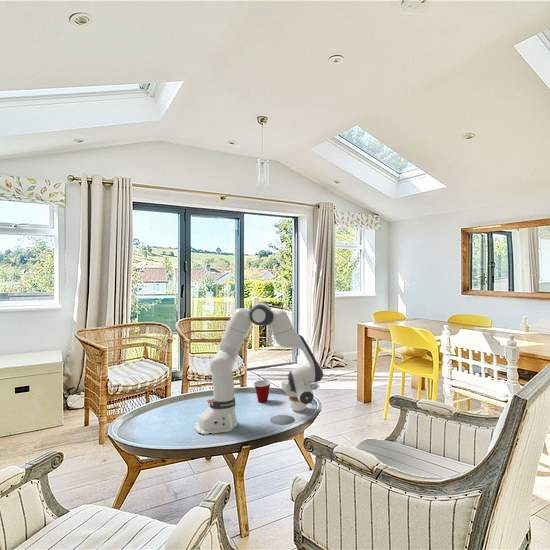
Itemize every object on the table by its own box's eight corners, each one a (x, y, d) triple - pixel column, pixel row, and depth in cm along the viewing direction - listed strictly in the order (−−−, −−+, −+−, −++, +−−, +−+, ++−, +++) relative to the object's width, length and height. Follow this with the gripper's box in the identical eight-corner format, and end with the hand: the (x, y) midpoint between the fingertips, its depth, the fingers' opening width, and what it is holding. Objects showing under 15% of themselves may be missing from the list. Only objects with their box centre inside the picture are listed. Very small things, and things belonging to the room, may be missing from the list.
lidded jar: (307, 406, 221) (307, 391, 221) (307, 413, 211) (307, 397, 210) (289, 406, 222) (289, 390, 222) (288, 413, 212) (288, 397, 212)
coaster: (276, 427, 193) (276, 426, 193) (265, 418, 205) (265, 417, 205) (299, 422, 199) (299, 421, 199) (287, 413, 211) (287, 413, 211)
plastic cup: (250, 401, 233) (250, 381, 232) (264, 397, 239) (264, 378, 239) (260, 405, 224) (260, 386, 224) (274, 401, 231) (274, 382, 230)
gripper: (320, 381, 204) (315, 374, 218) (283, 383, 202) (280, 376, 216) (320, 393, 204) (315, 385, 218) (283, 394, 202) (280, 387, 216)
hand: (297, 380), depth 217 cm, fingers open, 8 cm apart
